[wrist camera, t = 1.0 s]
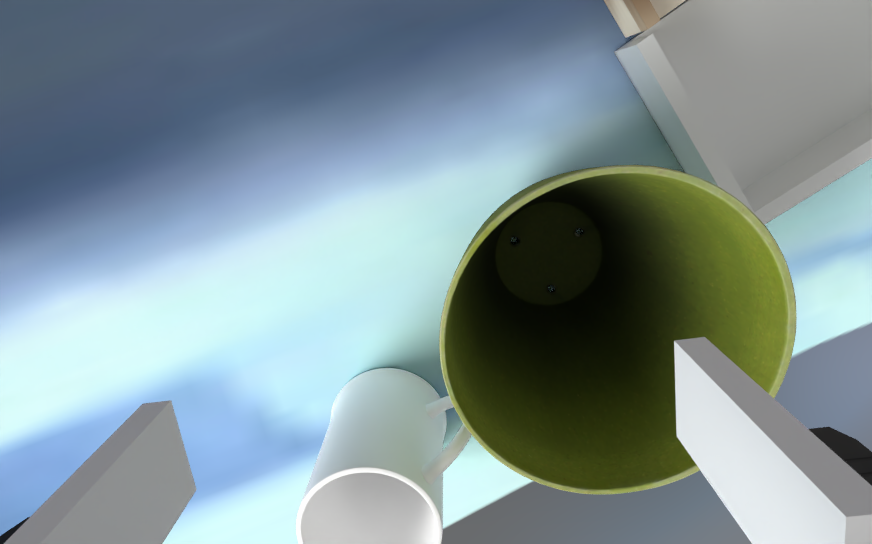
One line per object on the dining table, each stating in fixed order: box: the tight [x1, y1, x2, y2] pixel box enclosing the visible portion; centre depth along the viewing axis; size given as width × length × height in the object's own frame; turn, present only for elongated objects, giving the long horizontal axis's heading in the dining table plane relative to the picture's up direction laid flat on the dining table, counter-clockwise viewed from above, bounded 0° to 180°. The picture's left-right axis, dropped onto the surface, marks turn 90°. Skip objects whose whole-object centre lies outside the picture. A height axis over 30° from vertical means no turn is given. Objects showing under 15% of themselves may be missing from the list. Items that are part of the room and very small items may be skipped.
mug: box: [296, 368, 472, 544], centre depth 38 cm, size 12×9×12 cm
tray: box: [614, 0, 872, 224], centre depth 35 cm, size 13×16×4 cm
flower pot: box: [439, 165, 796, 494], centre depth 33 cm, size 15×15×16 cm
